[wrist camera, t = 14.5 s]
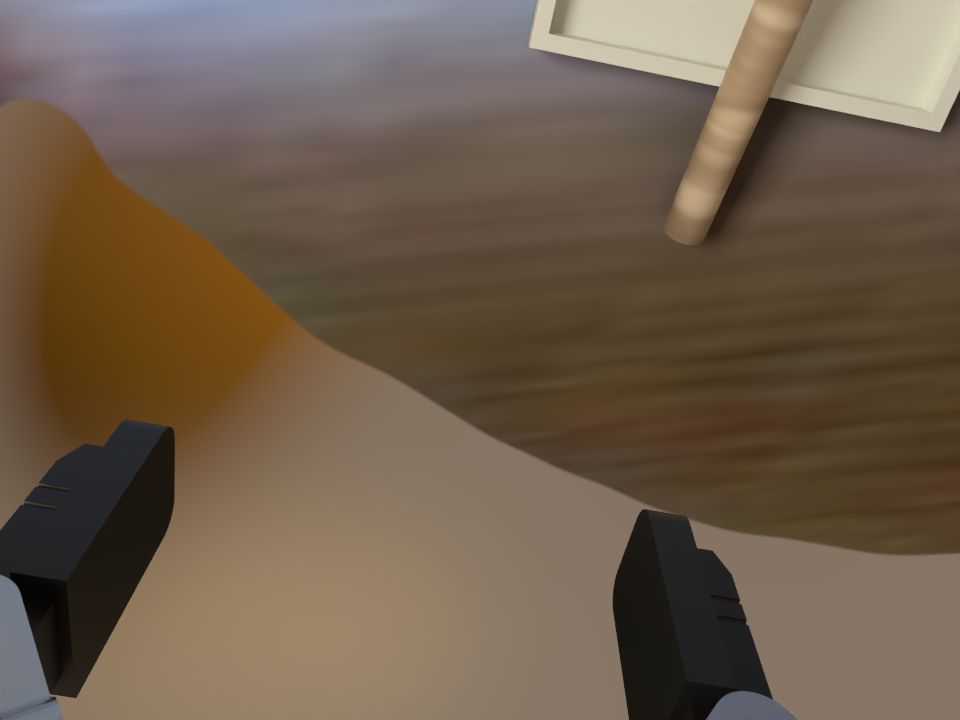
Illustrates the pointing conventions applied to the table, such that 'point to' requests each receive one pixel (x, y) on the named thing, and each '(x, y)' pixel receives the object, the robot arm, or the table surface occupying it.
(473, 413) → the table surface
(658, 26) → the tray
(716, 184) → the pin
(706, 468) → the table surface
